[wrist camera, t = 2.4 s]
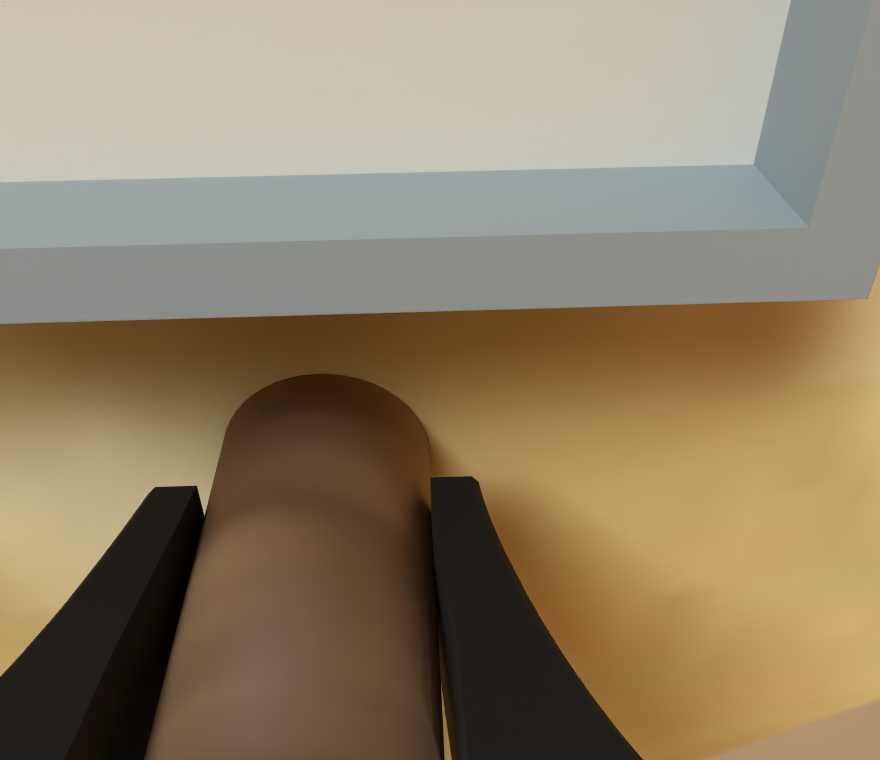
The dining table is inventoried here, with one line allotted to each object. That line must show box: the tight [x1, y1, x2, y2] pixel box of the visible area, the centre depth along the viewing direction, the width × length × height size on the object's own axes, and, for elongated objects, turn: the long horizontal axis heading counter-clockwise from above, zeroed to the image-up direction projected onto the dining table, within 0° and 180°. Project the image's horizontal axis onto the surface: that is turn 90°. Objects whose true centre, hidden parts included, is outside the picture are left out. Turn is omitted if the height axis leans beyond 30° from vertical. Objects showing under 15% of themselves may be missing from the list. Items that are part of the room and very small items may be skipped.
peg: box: [144, 374, 445, 760], centre depth 12 cm, size 3×3×6 cm
